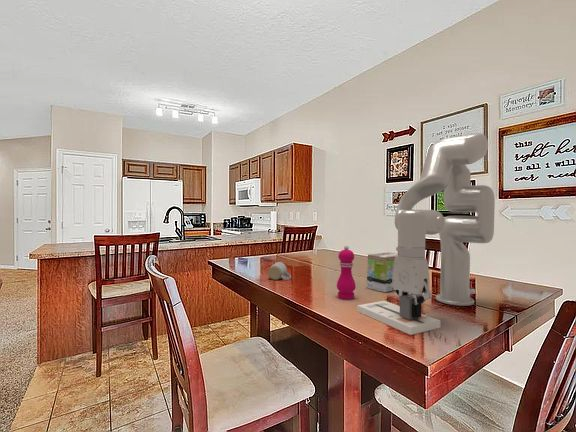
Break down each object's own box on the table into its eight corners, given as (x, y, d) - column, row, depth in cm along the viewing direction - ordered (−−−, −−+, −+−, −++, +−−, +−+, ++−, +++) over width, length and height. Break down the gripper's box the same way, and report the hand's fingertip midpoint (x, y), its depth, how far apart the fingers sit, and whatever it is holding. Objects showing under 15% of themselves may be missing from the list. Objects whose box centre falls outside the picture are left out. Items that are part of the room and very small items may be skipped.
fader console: (384, 306, 109) (384, 300, 109) (440, 327, 90) (440, 320, 90) (357, 311, 104) (357, 305, 104) (410, 335, 84) (410, 327, 84)
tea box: (386, 293, 127) (387, 256, 126) (366, 288, 134) (366, 254, 134) (406, 287, 136) (407, 253, 136) (386, 283, 144) (386, 251, 144)
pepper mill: (355, 300, 116) (356, 246, 116) (336, 299, 117) (336, 246, 117) (355, 295, 123) (355, 244, 123) (336, 294, 124) (337, 244, 124)
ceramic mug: (266, 280, 149) (267, 264, 149) (272, 276, 157) (272, 261, 157) (288, 281, 146) (288, 265, 146) (292, 278, 154) (293, 262, 154)
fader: (411, 313, 94) (411, 293, 94) (421, 317, 91) (421, 296, 91) (399, 316, 92) (399, 295, 92) (409, 319, 89) (409, 298, 89)
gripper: (381, 250, 97) (380, 308, 97) (426, 257, 82) (425, 326, 83) (398, 248, 100) (398, 305, 101) (445, 255, 86) (444, 322, 86)
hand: (410, 314), depth 92 cm, fingers closed on fader, 3 cm apart
